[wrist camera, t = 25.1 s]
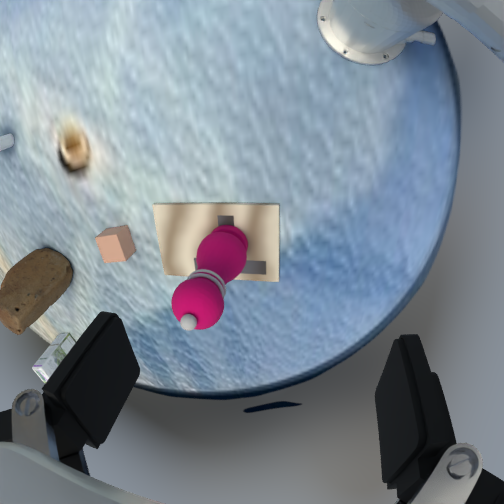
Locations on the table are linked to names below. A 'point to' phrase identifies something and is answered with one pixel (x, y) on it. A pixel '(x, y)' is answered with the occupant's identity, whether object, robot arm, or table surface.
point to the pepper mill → (210, 278)
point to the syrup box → (53, 356)
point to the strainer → (6, 141)
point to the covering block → (115, 244)
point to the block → (33, 288)
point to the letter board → (205, 221)
